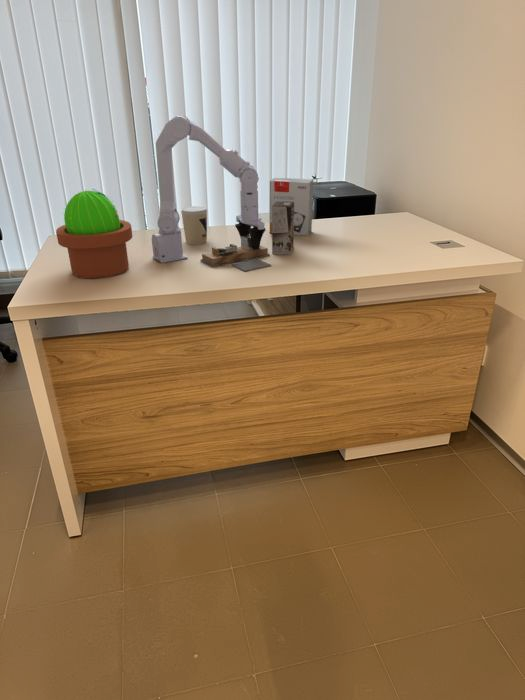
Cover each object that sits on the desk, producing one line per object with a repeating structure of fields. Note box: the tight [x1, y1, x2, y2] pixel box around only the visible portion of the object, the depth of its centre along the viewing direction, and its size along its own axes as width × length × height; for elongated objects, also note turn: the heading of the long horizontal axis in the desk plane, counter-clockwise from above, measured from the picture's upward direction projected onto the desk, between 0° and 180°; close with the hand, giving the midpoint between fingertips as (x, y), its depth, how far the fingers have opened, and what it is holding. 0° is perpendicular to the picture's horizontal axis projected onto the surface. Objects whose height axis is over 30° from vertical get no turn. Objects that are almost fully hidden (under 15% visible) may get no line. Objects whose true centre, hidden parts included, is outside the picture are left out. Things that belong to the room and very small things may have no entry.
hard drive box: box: [269, 177, 314, 237], centre depth 198 cm, size 16×8×20 cm, turn 73°
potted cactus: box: [55, 188, 133, 279], centre depth 158 cm, size 22×22×25 cm
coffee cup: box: [180, 205, 208, 245], centre depth 190 cm, size 9×9×12 cm
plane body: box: [200, 243, 270, 268], centre depth 172 cm, size 22×8×5 cm, turn 123°
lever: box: [218, 245, 237, 253], centre depth 168 cm, size 5×2×5 cm
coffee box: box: [271, 201, 295, 256], centre depth 177 cm, size 9×6×16 cm
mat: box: [231, 258, 272, 273], centre depth 166 cm, size 10×8×1 cm
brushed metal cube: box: [240, 234, 260, 251], centre depth 174 cm, size 5×4×4 cm
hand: (250, 246), depth 175 cm, fingers open, 6 cm apart
